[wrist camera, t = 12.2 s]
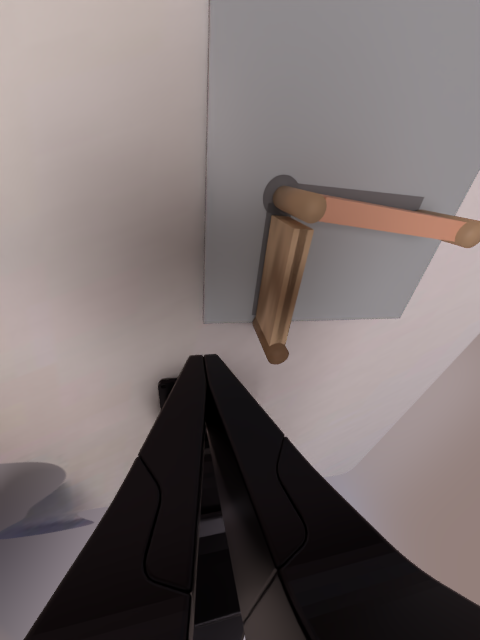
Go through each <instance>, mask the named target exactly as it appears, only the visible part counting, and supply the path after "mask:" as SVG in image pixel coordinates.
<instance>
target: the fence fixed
mask: <svg viewBox="0 0 480 640" xmlns="http://www.w3.org/2000/svg"><path fill="white" fill-rule="evenodd" d="M313 233H314V230H313V229H312V228H310V227H308V226H306V225H304V224H302V223H300V222H298V221H296V220H294V219H292V218H290V217H288V216H277V215H272V216H271V223H270V229H269V235H268V242H267V248H266V254H265V261H264V267H263V274H262V280H261V286H260V293H259V299H258V305H257V312H256V317H255V318H254V320H253V327H254V329H255V331H256V334H257V336H258V338H259V341H260V343H261V345H262V348H263V350H264V352H265V355H266V357H267V359H268V361H269V362H270V363H271V364H280V363H282V362H284V361H285V360H286V359H287V358H288V355H289V352H288V350H287V348H286V346H285V344H286V340H287V336H288V332H289V328H290V324H291V320H292V316H293V312H294V308H295V304H296V300H297V296H298V292H299V288H300V284H301V280H302V276H303V272H304V268H305V264H306V260H307V256H308V252H309V248H310V245H311V241H312V237H313Z"/></svg>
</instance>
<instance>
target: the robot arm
mask: <svg viewBox="0 0 480 640" xmlns="http://www.w3.org/2000/svg"><path fill="white" fill-rule="evenodd" d="M158 390H159V399H160V407H161V411H160V413H159V415H158V417H157V419H156V421H155V423H154V425H153V427H152V429H151V431H150V433H149V434H148V436H147V438H146V440H145V442H144V444H143V446H142V448H141V449H140V452H139V454H138V456H139V457H137V458H136V459H135V461H134V463H133V465H132V467H131V469H130V471H129V472H128V474H127V476H126V478H125V480H124V482H123V483H122V485H121V487H120V489H119V491H118V492H117V494H116V496H115V498H114V499H113V501H112V503H111V505H110V506H109V508H108V510H107V511H106V513H105V514H104V516H103V517H102V519H101V521H100V522H99V524H98V526H97V527H96V529H95V530H94V532H93V534H92V535H91V537H90V538H89V540H88V541H87V543H86V545H85V546H84V548H83V549H82V551H81V552H80V554H79V555H78V557H77V558H76V560H75V562H74V563H73V565H72V566H71V568H70V569H69V571H68V572H67V574H66V575H65V577H64V578H63V580H62V581H61V583H60V584H59V586H58V588H57V589H56V591H55V592H54V594H53V595H52V597H51V598H50V600H49V602H48V603H47V605H46V606H45V608H44V609H43V611H42V612H41V614H40V615H39V617H38V618H37V620H36V621H35V623H34V625H33V626H32V628H31V629H30V631H29V632H28V634H27V635H26V637H25V638H24V640H243V638H244V635H245V638H246V640H480V606H479V605H477V604H475V603H474V602H472V601H470V600H469V599H467V598H465V597H464V596H462V595H460V594H458V593H457V592H455V591H453V590H452V589H450V588H448V587H447V586H445V585H444V584H442V583H440V582H439V581H437V580H435V579H434V578H433V577H431V576H430V575H428V574H427V573H425V572H424V571H422V570H421V569H420V568H418V567H417V566H416V565H415V564H413V563H412V562H410V561H409V560H408V559H407V558H406V557H405V556H403V555H402V554H401V553H400V552H399V551H398V550H396V549H395V548H394V547H393V546H392V545H391V544H390V543H389V542H388V541H387V540H386V539H385V538H384V537H383V536H382V535H381V534H380V533H379V532H378V531H377V530H376V529H374V527H373V526H372V525H371V524H370V523H369V522H367V521H366V520H365V519H364V518H363V517H362V516H361V515H360V514H359V513H358V512H357V511H356V510H355V509H354V508H353V507H352V506H351V505H350V504H349V503H348V502H347V501H346V500H345V499H344V498H343V497H342V496H341V495H340V494H339V493H338V492H337V491H336V490H335V489H334V488H333V487H332V486H331V485H330V484H329V483H328V482H327V481H326V480H325V479H324V478H323V477H322V476H321V475H320V474H319V473H318V472H317V471H316V470H315V469H314V468H313V467H312V466H311V465H310V463H309V462H308V461H307V460H306V459H305V458H304V457H303V456H302V454H301V453H300V452H299V451H298V450H297V449H296V448H295V446H294V445H293V444H292V443H291V442H290V440H289V439H288V438H287V437H284V433H283V432H282V431H281V430H280V429H279V427H278V426H277V425H276V424H275V423H274V422H273V420H272V419H271V418H270V417H269V416H268V414H267V413H266V412H265V411H264V410H263V409H262V407H261V406H260V405H259V404H258V403H257V401H256V400H255V399H254V398H253V397H252V395H251V394H250V393H249V392H248V391H247V390H246V388H245V387H244V386H243V385H242V384H241V382H240V381H239V380H238V379H237V378H236V377H235V375H234V374H233V373H232V372H231V371H230V369H229V368H228V367H227V366H226V365H225V363H224V362H223V361H222V360H221V359H220V358H219V356H218V355H216V354H209V355H204V357H203V356H202V355H191V356H189V358H188V360H187V362H186V364H185V365H184V367H183V369H182V371H181V373H180V375H179V377H178V379H170V380H161V381H160V382H159V384H158Z"/></svg>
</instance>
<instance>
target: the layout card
mask: <svg viewBox="0 0 480 640" xmlns="http://www.w3.org/2000/svg"><path fill="white" fill-rule="evenodd" d="M479 170H480V0H209V43H208V95H207V147H206V199H205V251H204V302H203V322H204V324H209V323H245V322H253V320H254V318H255V317H256V312H257V305H258V299H259V293H260V286H261V280H262V274H263V267H264V261H265V254H266V248H267V242H268V235H269V229H270V223H271V216H272V215H277V216H288V217H290V218H292V219H294V220H296V221H298V222H300V223H302V224H304V225H306V226H308V227H310V228H312V229H313V230H314V233H313V237H312V241H311V245H310V248H309V252H308V256H307V260H306V264H305V268H304V272H303V276H302V280H301V284H300V288H299V292H298V296H297V300H296V304H295V308H294V312H293V316H292V320H291V321H318V320H355V319H391V318H400V317H401V315H402V313H403V312H404V310H405V308H406V306H407V304H408V302H409V300H410V299H411V297H412V295H413V293H414V291H415V289H416V287H417V285H418V284H419V282H420V280H421V278H422V276H423V274H424V272H425V271H426V269H427V267H428V265H429V263H430V261H431V259H432V258H433V256H434V254H435V252H436V250H437V248H438V246H439V244H440V243H441V240H438V239H433V238H426V237H419V236H413V235H406V234H399V233H393V232H386V231H379V230H373V229H366V228H359V227H353V226H346V225H339V224H333V223H326V222H319V221H318V222H316V223H311V224H310V223H306V222H304V221H302V220H300V219H298V218H296V217H294V216H292V215H290V214H288V213H286V212H284V211H282V210H280V209H278V208H277V207H276V206H275V205H274V203H273V195H274V192H275V191H276V190H277V189H278V188H279V187H281V186H289V187H293V188H297V189H301V190H305V191H310V192H314V193H318V194H323V195H329V196H334V197H340V198H345V199H351V200H356V201H361V202H367V203H372V204H378V205H383V206H389V207H394V208H400V209H405V210H411V211H418V210H427V211H432V212H437V213H442V214H447V215H452V216H455V215H456V213H457V211H458V209H459V207H460V205H461V203H462V202H463V200H464V198H465V196H466V194H467V192H468V190H469V189H470V187H471V185H472V183H473V181H474V179H475V177H476V175H477V174H478V172H479Z"/></svg>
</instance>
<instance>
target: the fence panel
mask: <svg viewBox="0 0 480 640" xmlns="http://www.w3.org/2000/svg"><path fill="white" fill-rule="evenodd" d="M273 203H274V205H275V206H276V207H277V208H278V209H280V210H282V211H284V212H286V213H288V214H290V215H292V216H294V217H296V218H298V219H300V220H302V221H304V222H306V223H310V224H311V223H316V222H318V221H319V222H326V223H333V224H339V225H346V226H353V227H359V228H366V229H373V230H379V231H386V232H393V233H399V234H406V235H413V236H419V237H426V238H433V239H438V240H441V241H445V242H448V243H451V244H455V245H458V246H461V247H464V248H471V247H473V246H475V245H476V244H478V243H479V242H480V221H477V220H472V219H467V218H462V217H457V216H452V215H447V214H442V213H437V212H432V211H427V210H418V211H411V210H405V209H400V208H394V207H389V206H383V205H378V204H372V203H367V202H361V201H356V200H351V199H345V198H340V197H334V196H329V195H323V194H318V193H314V192H310V191H305V190H301V189H297V188H293V187H289V186H281V187H279V188H278V189H277V190H276V191H275V192H274V195H273Z"/></svg>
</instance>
